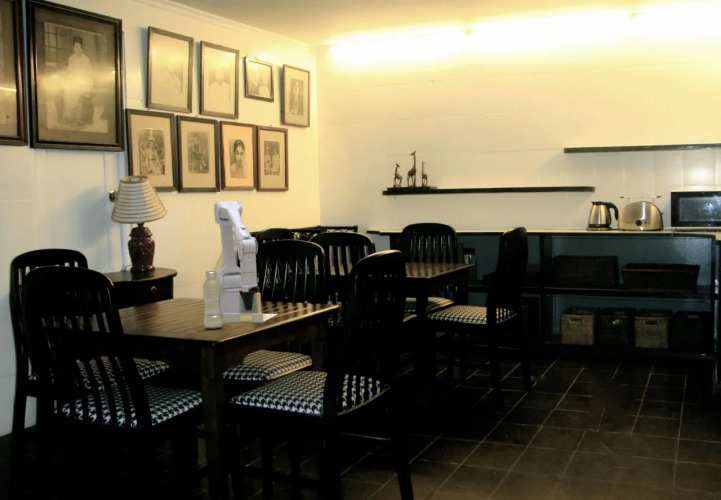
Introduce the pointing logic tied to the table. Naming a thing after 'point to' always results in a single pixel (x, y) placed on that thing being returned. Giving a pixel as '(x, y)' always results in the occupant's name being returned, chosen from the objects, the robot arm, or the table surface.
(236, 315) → the large cream panel
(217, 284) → the plastic bottle
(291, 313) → the table surface
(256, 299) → the kraft carton
